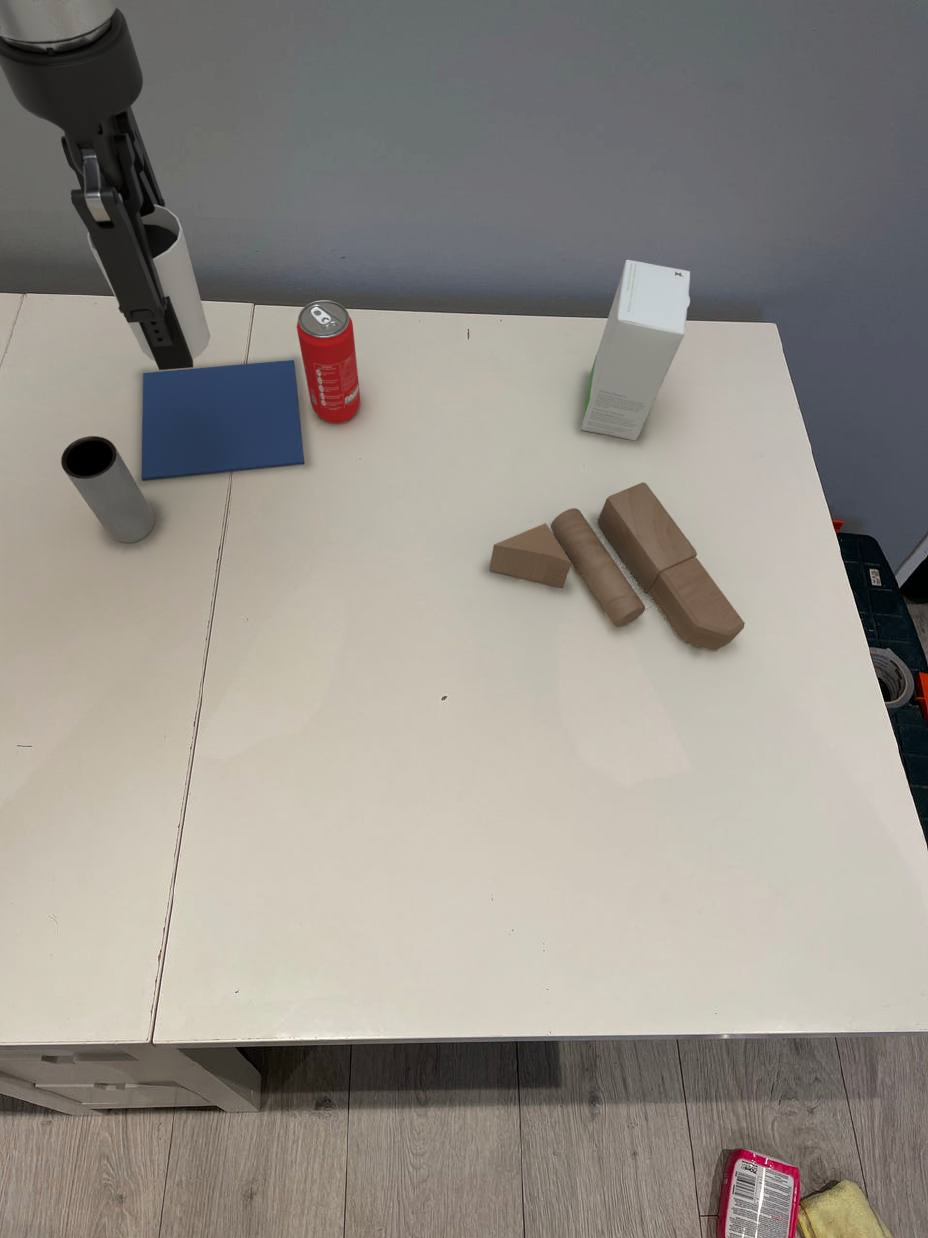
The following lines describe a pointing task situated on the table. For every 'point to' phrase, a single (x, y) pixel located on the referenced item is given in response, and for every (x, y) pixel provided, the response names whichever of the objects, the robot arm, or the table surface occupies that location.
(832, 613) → the table surface
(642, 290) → the cosmetic box
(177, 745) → the table surface
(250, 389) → the cloth mat
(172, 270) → the white cup
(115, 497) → the gray tube
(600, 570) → the wooden block set
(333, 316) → the beverage can
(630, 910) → the table surface
